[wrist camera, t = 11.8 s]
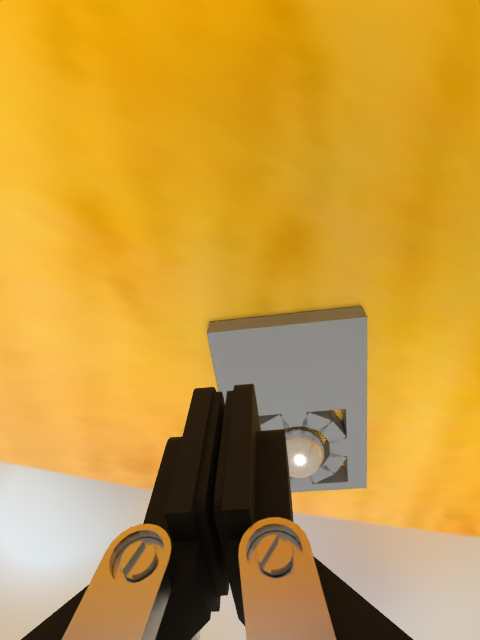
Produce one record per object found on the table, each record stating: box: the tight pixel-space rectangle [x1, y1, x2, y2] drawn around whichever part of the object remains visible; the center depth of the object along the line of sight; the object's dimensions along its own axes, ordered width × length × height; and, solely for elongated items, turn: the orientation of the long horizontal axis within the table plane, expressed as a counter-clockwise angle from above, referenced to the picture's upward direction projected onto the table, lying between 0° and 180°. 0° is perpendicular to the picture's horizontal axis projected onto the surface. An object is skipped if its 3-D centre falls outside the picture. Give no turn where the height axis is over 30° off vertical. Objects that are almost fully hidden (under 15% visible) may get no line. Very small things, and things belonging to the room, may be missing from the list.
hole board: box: [207, 306, 367, 492], centre depth 46 cm, size 16×24×2 cm, turn 8°
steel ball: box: [285, 426, 324, 478], centre depth 47 cm, size 6×6×6 cm
